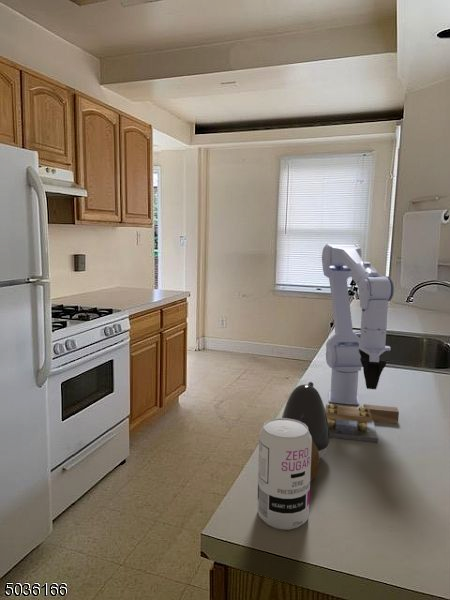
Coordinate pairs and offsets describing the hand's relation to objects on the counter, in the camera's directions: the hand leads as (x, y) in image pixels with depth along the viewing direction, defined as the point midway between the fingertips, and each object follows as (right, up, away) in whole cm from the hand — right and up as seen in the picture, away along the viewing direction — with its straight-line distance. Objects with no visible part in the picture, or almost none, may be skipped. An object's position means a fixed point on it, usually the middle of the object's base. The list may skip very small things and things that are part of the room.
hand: (370, 383), depth 104 cm
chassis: (-6, -11, -2) cm, 12 cm away
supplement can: (-25, -15, -34) cm, 45 cm away
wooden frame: (-6, -7, -2) cm, 10 cm away
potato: (-22, -14, -24) cm, 36 cm away
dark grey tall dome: (-19, -12, -15) cm, 27 cm away
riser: (+4, -10, +4) cm, 12 cm away
